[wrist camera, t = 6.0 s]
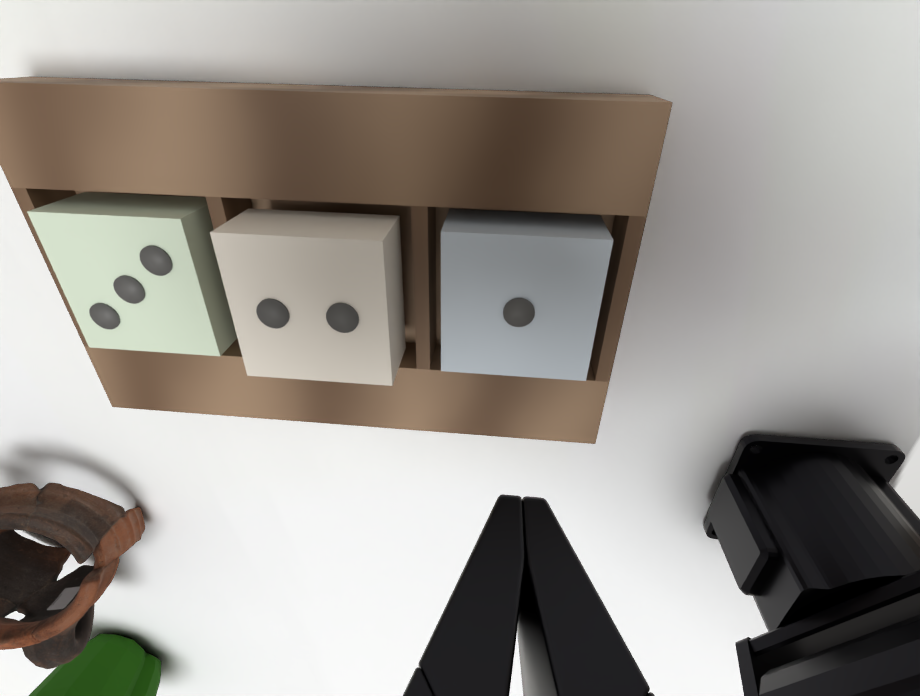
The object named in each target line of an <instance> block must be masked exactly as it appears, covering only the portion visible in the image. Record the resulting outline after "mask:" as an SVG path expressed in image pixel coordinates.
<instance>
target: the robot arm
mask: <svg viewBox="0 0 920 696" xmlns="http://www.w3.org/2000/svg"><path fill="white" fill-rule="evenodd" d="M754 445H756V446H754ZM752 446H754V447H752ZM904 459H905V454H904V453H903V452H902V451H901V450H900V449H899V448H898V447H897V446H896V445H892V444H881V443H867V442H854V441H840V440H827V439H813V438H799V437H786V436H772V435H759V434H753V435H748V436H746V437H744V438H743V439H742V440H741V441H740V443H739V446H738V448H737V450H736V452H735V455H734V457H733V459H732V462H731V464H730V466H729V468H728V471H727V473H726V475H725V476H724V477H723V478H722V480H721V482H720V485H719V487H718V489H717V492H716V494H715V496H714V498H713V501H712V503H711V505H710V508H709V510H708V516H707V518H706V521H705V523H704V530H705V532H706V534H707V536H708V537H710V538H713V539H718V540H719V542H720V544H721V547H722V549H723V551H724V554H725V556H726V559H727V561H728V563H729V566H730V568H731V571H732V573H733V575H734V578H735V580H736V582H737V585H738V587H739V589H740V590H741V591H742V592H743V593H744V594H745V595H752V596H753V597H754V600H755V602H756V604H757V606H758V609H759V611H760V613H761V616H762V618H763V620H764V622H765V625H766V627H767V629H768V631H769V632H767V633H765V634H762V635H760V636H757V637H755V638H752V639H751V638H749V637H747V638H745V639H743V640H740V641H738V642H736V650H737V656H738V662H739V668H740V674H741V680H742V685H743V691H744V696H920V519H919V518H918V517H917V516H916V514H915V513H914V512H913V511H912V510H911V509H910V508H909V506H908V505H907V504H906V503H905V502H904V501H903V499H902V498H901V497H900V496H899V495H898V494H897V492H896V491H895V490H894V489H893V488H892V487H891V485H890V484H889V481H890V480H891V478H892V477H893V476H894V474H895V473H896V471H897V470H898V468H899V467H900V466H901V464H902V463H903V461H904ZM517 632H518V643H519V654H520V664H521V674H522V685H523V695H524V696H654V694H653V693H651V692H650V693H648V692H649V689H650V688H649V686H648V684H647V682H646V680H645V678H644V676H643V675H642V673H641V671H640V669H639V667H638V666H637V664H636V662H635V660H634V658H633V657H632V655H631V653H630V651H629V649H628V647H627V646H626V644H625V642H624V640H623V638H622V637H621V635H620V633H619V631H618V629H617V628H616V626H615V624H614V622H613V620H612V618H611V617H610V615H609V613H608V611H607V609H606V608H605V606H604V604H603V602H602V600H601V599H600V597H599V595H598V593H597V591H596V589H595V588H594V586H593V584H592V582H591V580H590V579H589V577H588V575H587V573H586V571H585V569H584V568H583V566H582V564H581V562H580V560H579V559H578V557H577V555H576V553H575V551H574V550H573V548H572V546H571V544H570V542H569V540H568V539H567V537H566V535H565V533H564V531H563V530H562V528H561V526H560V524H559V522H558V521H557V519H556V517H555V515H554V513H553V511H552V510H551V508H550V506H549V504H548V503H547V501H546V500H545V499H544V498H537V497H524V498H523V499H521V497H520V496H513V495H500V496H499V497H498V499H497V501H496V503H495V505H494V507H493V509H492V511H491V513H490V516H489V518H488V520H487V522H486V524H485V526H484V528H483V530H482V532H481V534H480V536H479V538H478V541H477V543H476V545H475V547H474V549H473V551H472V553H471V555H470V557H469V559H468V561H467V564H466V566H465V568H464V570H463V572H462V574H461V576H460V578H459V580H458V582H457V584H456V586H455V589H454V591H453V593H452V595H451V597H450V599H449V601H448V603H447V605H446V607H445V609H444V612H443V614H442V616H441V618H440V620H439V622H438V624H437V626H436V628H435V630H434V632H433V634H432V637H431V639H430V641H429V643H428V645H427V647H426V649H425V651H424V653H423V655H422V657H421V660H420V662H419V668H416V669H415V671H414V673H413V676H412V678H411V680H410V682H409V684H408V686H407V688H406V690H405V692H404V694H403V696H509V691H510V683H511V674H512V666H513V658H514V650H515V642H516V633H517Z"/></svg>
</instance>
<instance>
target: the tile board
mask: <svg viewBox="0 0 920 696" xmlns="http://www.w3.org/2000/svg"><path fill="white" fill-rule="evenodd" d="M671 107H672V102H670V101H667V100H664V99H661V98H658V97H655V96H652V95H640V94H605V93H571V92H537V91H503V90H468V89H434V88H400V87H366V86H331V85H297V84H263V83H228V82H194V81H160V80H126V79H91V78H57V77H20V78H4V79H0V165H1V167H2V169H3V171H4V174H5V176H6V178H7V180H8V182H9V184H10V187H11V189H12V191H13V193H14V195H15V197H16V200H17V202H18V204H19V206H20V208H21V210H22V213H23V215H24V217H25V219H26V221H27V223H28V225H29V228H30V230H31V232H32V234H33V236H34V238H35V241H36V243H37V245H38V247H39V249H40V251H41V254H42V256H43V258H44V260H45V262H46V264H47V267H48V269H49V271H50V273H51V275H52V277H53V279H54V282H55V284H56V286H57V288H58V290H59V292H60V295H61V297H62V299H63V301H64V303H65V305H66V308H67V310H68V312H69V314H70V316H71V318H72V321H73V323H74V325H75V327H76V329H77V331H78V333H79V336H80V338H81V340H82V342H83V344H84V346H85V349H86V351H87V353H88V355H89V357H90V359H91V362H92V364H93V366H94V368H95V370H96V372H97V375H98V377H99V379H100V381H101V383H102V385H103V387H104V390H105V392H106V394H107V396H108V398H109V400H110V403H111V405H112V407H121V408H134V409H147V410H160V411H173V412H186V413H199V414H212V415H225V416H238V417H251V418H265V419H278V420H291V421H304V422H317V423H330V424H343V425H356V426H369V427H382V428H395V429H408V430H421V431H434V432H447V433H460V434H474V435H487V436H500V437H513V438H526V439H539V440H552V441H565V442H578V443H591V444H595V442H596V438H597V434H598V429H599V425H600V420H601V416H602V412H603V407H604V403H605V398H606V394H607V389H608V385H609V381H610V376H611V372H612V367H613V363H614V359H615V354H616V350H617V345H618V341H619V337H620V332H621V328H622V323H623V319H624V314H625V310H626V306H627V301H628V297H629V292H630V288H631V284H632V279H633V275H634V270H635V266H636V262H637V257H638V253H639V248H640V244H641V240H642V235H643V231H644V226H645V222H646V217H647V213H648V209H649V204H650V200H651V195H652V191H653V187H654V182H655V178H656V173H657V169H658V165H659V160H660V156H661V151H662V147H663V142H664V138H665V134H666V129H667V125H668V120H669V116H670V112H671ZM83 192H97V193H119V194H141V195H162V196H184V197H206V201H207V205H208V209H209V213H210V217H211V220H212V224H213V228H214V229H216V228H218V227H219V226H221V225H223V224H224V223H226V222H227V221H229V220H231V219H232V218H234V217H236V216H237V215H239V214H240V213H242V212H244V211H245V210H247V209H270V210H291V211H312V212H334V213H355V214H376V215H397V216H400V237H401V258H402V279H403V300H404V321H405V343H406V349H405V352H404V354H403V357H402V360H401V363H400V366H399V369H398V371H397V374H396V377H395V380H394V383H393V386H387V385H372V384H358V383H344V382H330V381H316V380H302V379H288V378H273V377H259V376H247V373H246V369H245V365H244V361H243V357H242V353H241V350H240V346H239V342H238V338H237V339H236V340H235V341H234V342H233V343H232V344H231V345H230V347H229V348H228V349H227V350H226V351H225V352H224V353H223V354H222V355H221V356H208V355H193V354H179V353H164V352H149V351H135V350H120V349H105V348H91V347H89V346H88V344H87V342H86V340H85V337H84V335H83V333H82V331H81V329H80V326H79V324H78V322H77V320H76V318H75V316H74V313H73V311H72V309H71V307H70V305H69V302H68V300H67V298H66V296H65V294H64V292H63V289H62V287H61V285H60V283H59V281H58V278H57V276H56V274H55V272H54V270H53V267H52V265H51V263H50V261H49V259H48V257H47V254H46V252H45V250H44V248H43V246H42V243H41V241H40V239H39V237H38V235H37V232H36V230H35V228H34V226H33V224H32V222H31V219H30V217H29V215H28V213H27V211H30V210H33V209H36V208H39V207H42V206H44V205H47V204H50V203H53V202H56V201H59V200H62V199H65V198H68V197H71V196H74V195H77V194H80V193H83ZM449 209H472V210H494V211H516V212H538V213H559V214H581V215H601V217H602V219H603V221H604V223H605V225H606V227H607V229H608V231H609V232H610V234H611V236H612V238H613V245H612V250H611V255H610V260H609V266H608V271H607V276H606V281H605V286H604V291H603V296H602V301H601V307H600V312H599V317H598V322H597V327H596V332H595V337H594V342H593V348H592V353H591V358H590V363H589V368H588V373H587V378H586V381H578V380H564V379H549V378H534V377H520V376H505V375H490V374H476V373H461V372H446V371H441V230H442V227H443V224H444V222H445V219H446V217H447V214H448V211H449Z"/></svg>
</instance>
